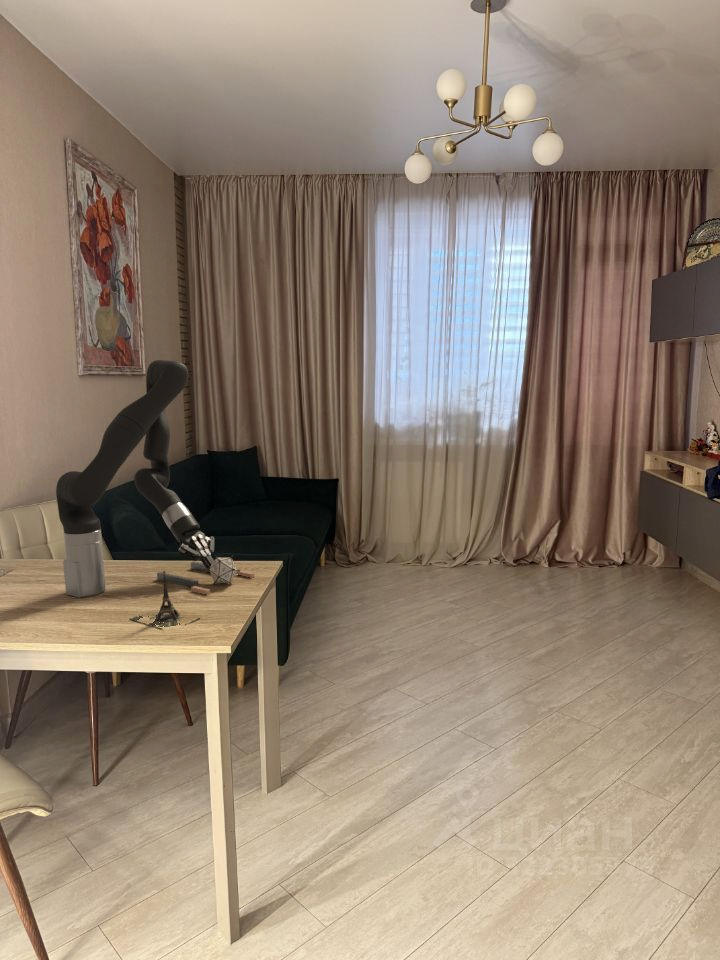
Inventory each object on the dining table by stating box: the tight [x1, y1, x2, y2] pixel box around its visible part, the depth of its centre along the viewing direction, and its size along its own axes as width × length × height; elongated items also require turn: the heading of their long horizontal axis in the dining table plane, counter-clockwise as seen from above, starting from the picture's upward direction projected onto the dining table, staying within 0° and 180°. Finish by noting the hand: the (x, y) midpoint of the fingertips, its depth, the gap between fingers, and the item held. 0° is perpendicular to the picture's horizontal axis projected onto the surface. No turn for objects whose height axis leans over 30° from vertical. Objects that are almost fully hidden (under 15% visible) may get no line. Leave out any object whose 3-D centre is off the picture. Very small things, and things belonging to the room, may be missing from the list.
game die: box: [206, 554, 240, 586], centre depth 177 cm, size 9×8×10 cm
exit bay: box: [190, 569, 255, 595], centre depth 177 cm, size 18×6×1 cm, turn 147°
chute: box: [156, 561, 209, 588], centre depth 184 cm, size 14×16×2 cm
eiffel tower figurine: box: [129, 570, 181, 629], centre depth 150 cm, size 15×10×13 cm
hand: (212, 568), depth 180 cm, fingers closed
